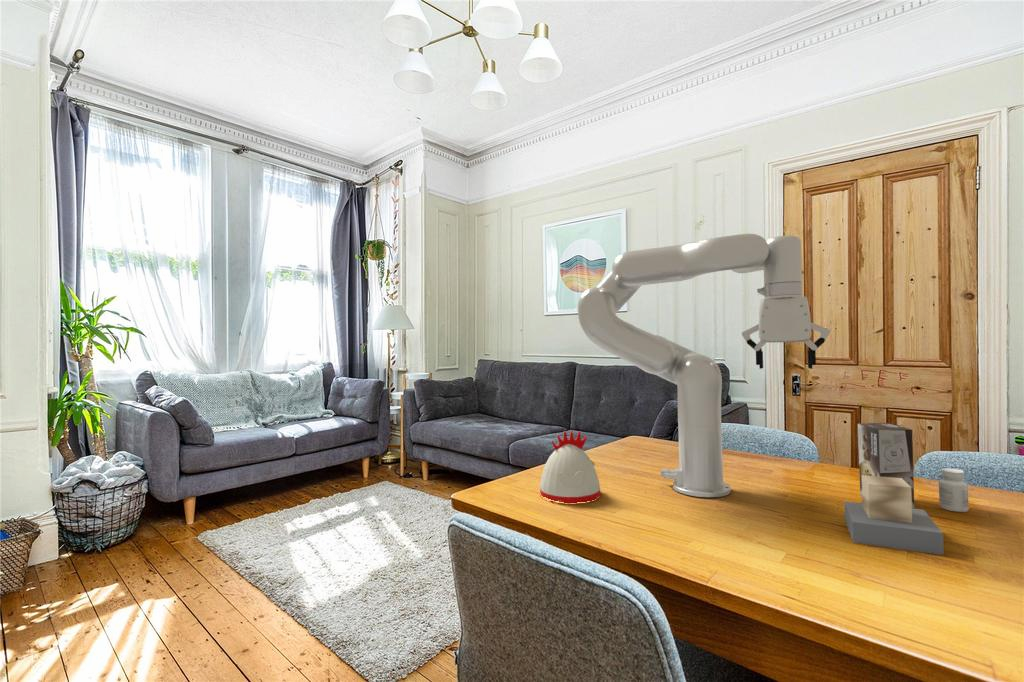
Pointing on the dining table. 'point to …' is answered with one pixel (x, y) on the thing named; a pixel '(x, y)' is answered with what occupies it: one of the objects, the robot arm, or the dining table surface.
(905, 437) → the coffee box
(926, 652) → the dining table surface
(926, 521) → the charcoal block
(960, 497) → the pill bottle
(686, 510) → the dining table surface
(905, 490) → the oak cube
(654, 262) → the robot arm
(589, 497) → the white red dome
